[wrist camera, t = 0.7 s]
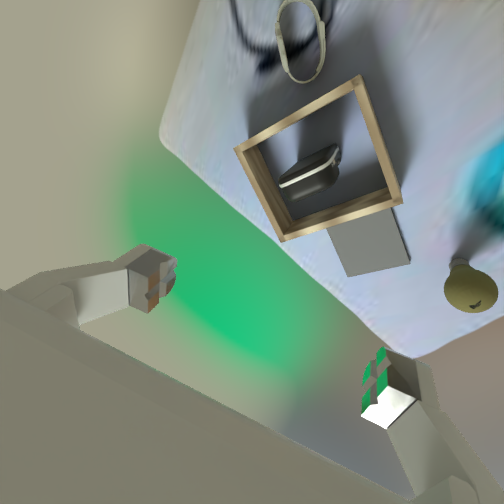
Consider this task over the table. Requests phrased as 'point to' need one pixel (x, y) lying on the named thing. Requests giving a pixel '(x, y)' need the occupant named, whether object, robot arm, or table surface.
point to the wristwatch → (320, 34)
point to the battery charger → (311, 174)
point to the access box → (333, 215)
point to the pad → (369, 243)
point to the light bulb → (469, 288)
